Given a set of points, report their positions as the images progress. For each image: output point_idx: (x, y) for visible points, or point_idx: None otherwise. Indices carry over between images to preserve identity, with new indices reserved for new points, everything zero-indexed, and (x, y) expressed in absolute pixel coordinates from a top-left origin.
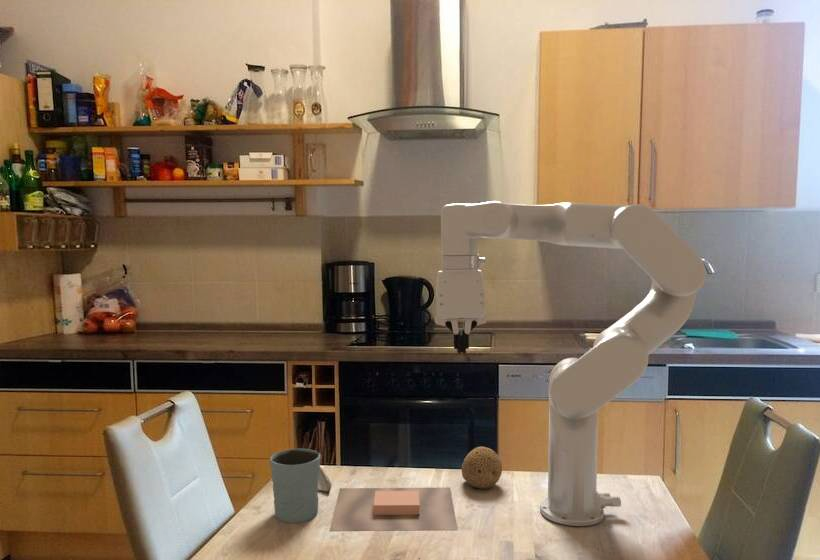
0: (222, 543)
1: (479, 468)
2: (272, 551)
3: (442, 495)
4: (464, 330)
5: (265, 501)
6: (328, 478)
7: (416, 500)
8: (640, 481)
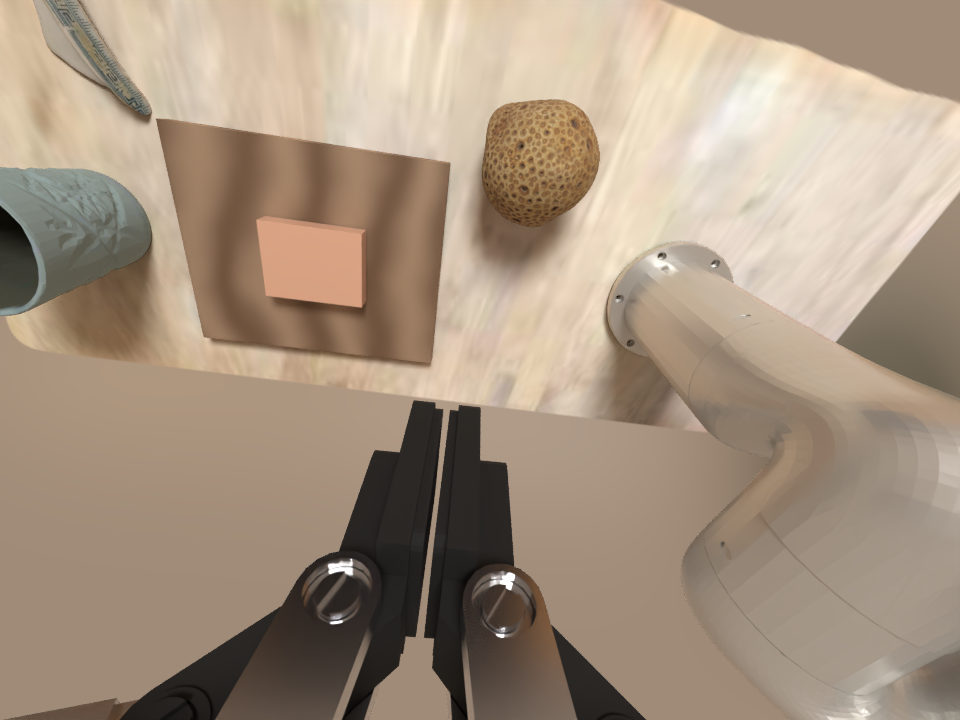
0: (24, 320)
1: (518, 218)
2: (129, 356)
3: (423, 211)
4: (448, 694)
5: None
6: (93, 36)
7: (355, 285)
8: (945, 159)
